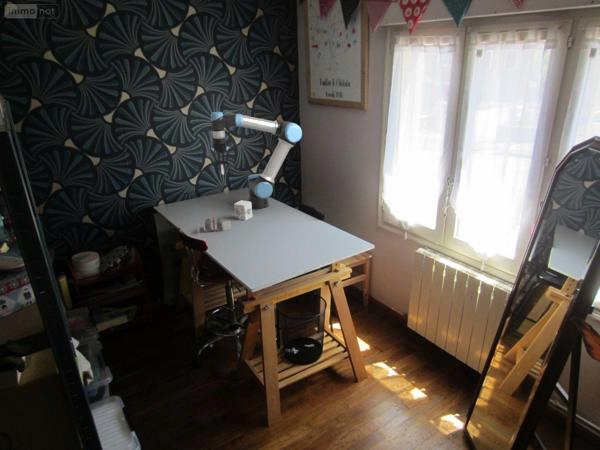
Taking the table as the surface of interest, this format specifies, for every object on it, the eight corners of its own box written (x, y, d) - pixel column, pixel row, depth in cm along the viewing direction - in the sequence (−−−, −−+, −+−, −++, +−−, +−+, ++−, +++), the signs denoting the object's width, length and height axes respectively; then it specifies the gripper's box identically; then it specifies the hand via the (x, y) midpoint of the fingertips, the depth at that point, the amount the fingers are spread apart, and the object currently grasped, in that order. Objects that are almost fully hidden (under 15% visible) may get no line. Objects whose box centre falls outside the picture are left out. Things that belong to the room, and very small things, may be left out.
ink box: (234, 220, 272) (233, 203, 268) (242, 216, 279) (240, 199, 275) (245, 222, 268) (244, 205, 264) (253, 218, 275) (251, 201, 271)
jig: (252, 225, 263) (251, 211, 259) (253, 230, 254) (252, 216, 251) (201, 229, 259) (199, 215, 255) (200, 235, 250) (198, 221, 247)
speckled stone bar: (230, 226, 258) (230, 220, 257) (230, 229, 254) (230, 222, 253) (204, 229, 256) (203, 222, 255) (204, 231, 252) (203, 225, 251)
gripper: (229, 135, 265) (233, 172, 273) (208, 137, 263) (213, 173, 272) (229, 137, 258) (233, 174, 266) (208, 139, 256) (212, 176, 265)
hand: (222, 174), depth 269 cm, fingers closed
